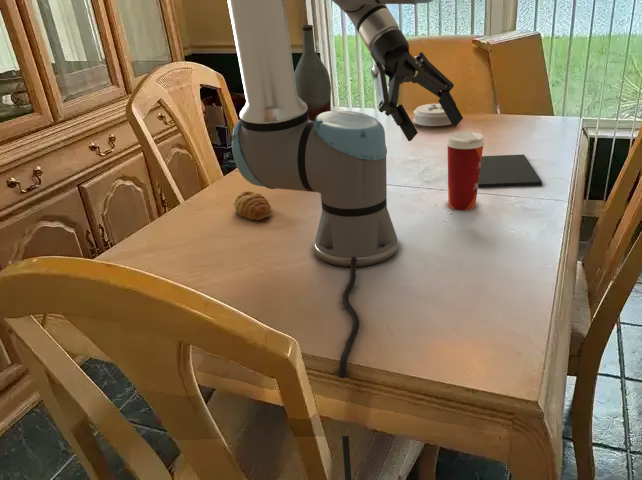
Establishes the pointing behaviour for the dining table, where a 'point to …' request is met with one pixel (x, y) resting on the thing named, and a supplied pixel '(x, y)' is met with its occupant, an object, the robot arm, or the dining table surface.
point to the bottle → (312, 78)
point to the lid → (431, 115)
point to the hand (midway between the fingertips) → (436, 129)
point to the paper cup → (464, 168)
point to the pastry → (252, 206)
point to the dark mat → (507, 171)
